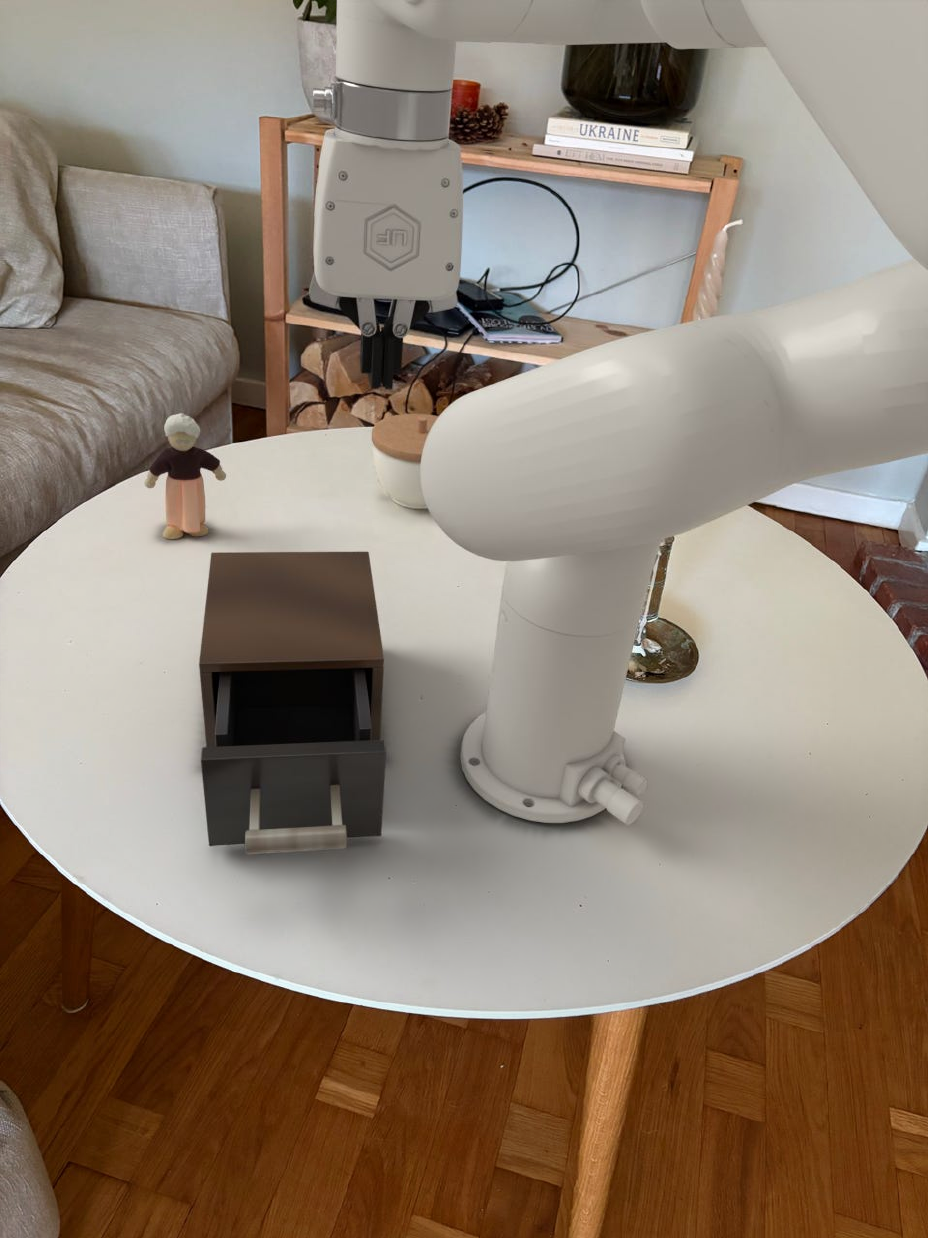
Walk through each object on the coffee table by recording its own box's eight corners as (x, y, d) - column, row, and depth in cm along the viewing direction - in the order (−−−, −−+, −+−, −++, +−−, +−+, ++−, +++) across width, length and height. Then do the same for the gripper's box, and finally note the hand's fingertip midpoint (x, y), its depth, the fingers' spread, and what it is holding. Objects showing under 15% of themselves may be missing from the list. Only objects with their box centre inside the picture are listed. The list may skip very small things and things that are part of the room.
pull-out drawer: (388, 894, 61) (393, 808, 57) (204, 907, 59) (194, 819, 55) (366, 707, 76) (369, 627, 72) (219, 713, 74) (212, 631, 70)
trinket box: (360, 477, 110) (362, 400, 105) (449, 472, 114) (455, 397, 108) (381, 523, 102) (385, 442, 97) (476, 516, 105) (485, 437, 100)
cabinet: (379, 759, 73) (384, 658, 67) (208, 766, 70) (198, 663, 65) (365, 644, 84) (368, 551, 79) (218, 648, 82) (211, 552, 77)
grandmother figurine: (159, 547, 94) (146, 427, 87) (147, 529, 97) (134, 411, 90) (234, 532, 98) (227, 416, 91) (221, 515, 101) (213, 401, 93)
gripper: (277, 115, 58) (281, 400, 69) (516, 133, 61) (484, 404, 72) (275, 96, 64) (279, 361, 75) (492, 114, 67) (466, 366, 78)
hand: (379, 381), depth 73 cm, fingers closed
